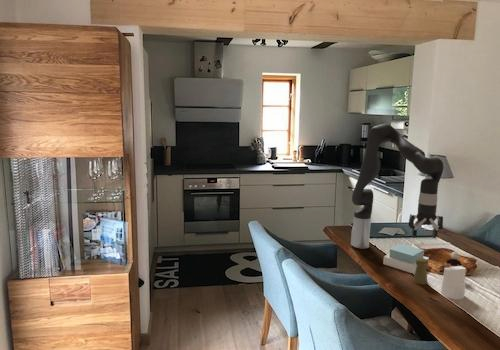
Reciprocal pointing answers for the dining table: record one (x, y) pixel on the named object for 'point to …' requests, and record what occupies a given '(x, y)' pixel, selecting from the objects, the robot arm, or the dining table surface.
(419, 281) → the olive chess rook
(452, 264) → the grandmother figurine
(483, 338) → the dining table surface
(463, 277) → the white upright block
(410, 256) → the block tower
